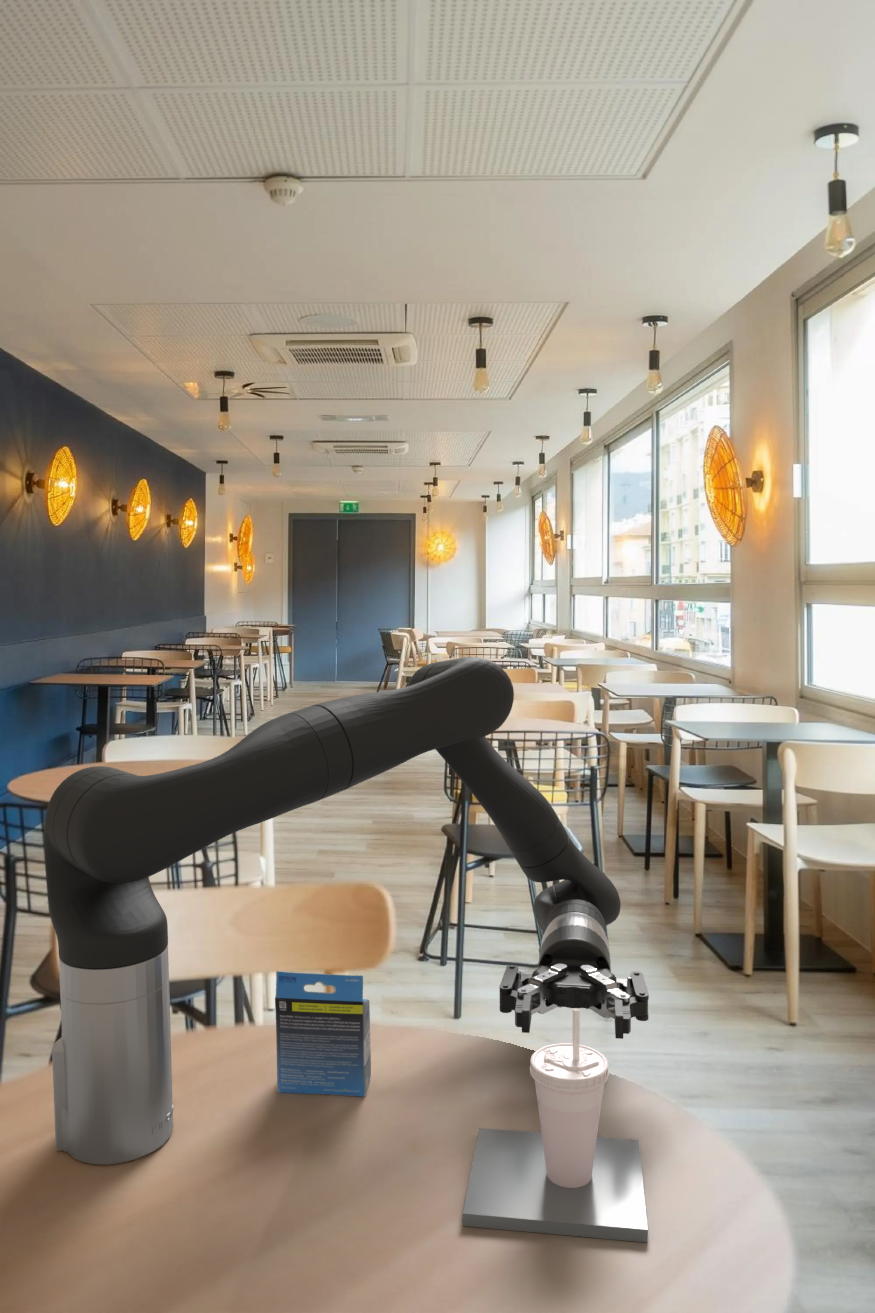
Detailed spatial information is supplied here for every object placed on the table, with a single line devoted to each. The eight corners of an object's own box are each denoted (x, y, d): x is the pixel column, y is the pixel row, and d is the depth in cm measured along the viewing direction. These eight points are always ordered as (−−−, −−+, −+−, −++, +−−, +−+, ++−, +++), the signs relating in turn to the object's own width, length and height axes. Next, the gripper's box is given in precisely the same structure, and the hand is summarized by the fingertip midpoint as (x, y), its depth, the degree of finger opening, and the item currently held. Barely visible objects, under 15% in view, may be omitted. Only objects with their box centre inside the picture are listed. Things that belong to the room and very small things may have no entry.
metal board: (462, 1226, 76) (462, 1213, 76) (478, 1138, 88) (478, 1128, 88) (647, 1242, 74) (647, 1230, 74) (638, 1151, 86) (638, 1140, 86)
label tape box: (372, 1079, 99) (371, 959, 98) (365, 1100, 95) (363, 976, 94) (286, 1074, 100) (284, 956, 99) (275, 1095, 96) (273, 972, 95)
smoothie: (607, 1203, 77) (608, 1030, 76) (525, 1193, 78) (525, 1023, 77) (609, 1156, 83) (610, 995, 82) (534, 1148, 85) (533, 990, 84)
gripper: (508, 921, 107) (494, 982, 91) (642, 926, 105) (652, 990, 89) (508, 988, 107) (494, 1060, 91) (641, 995, 105) (651, 1070, 89)
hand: (572, 1026), depth 90 cm, fingers open, 8 cm apart
